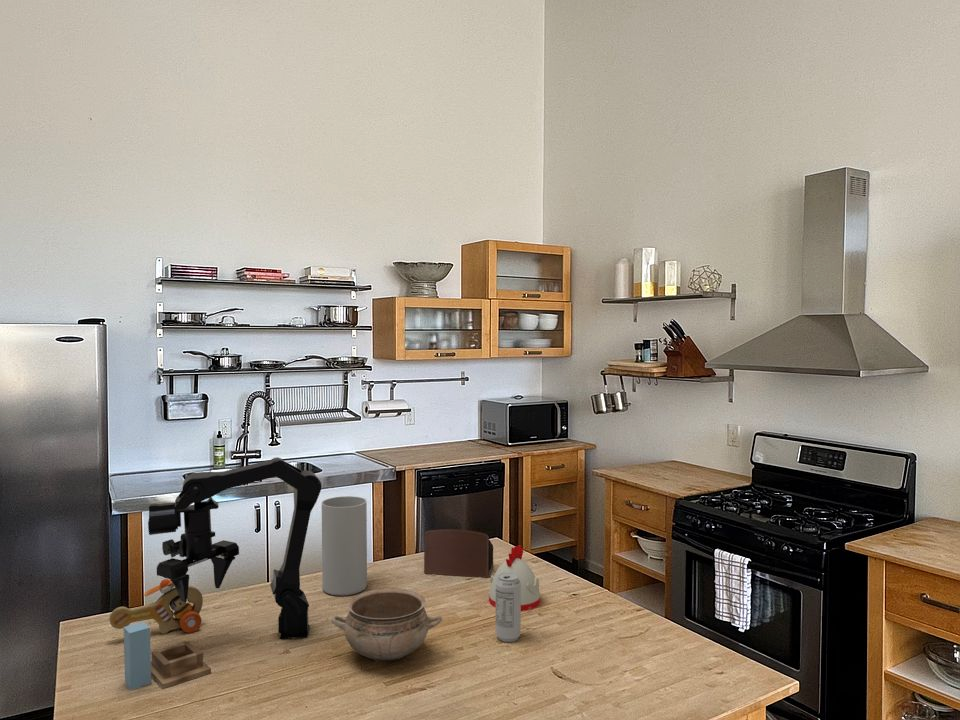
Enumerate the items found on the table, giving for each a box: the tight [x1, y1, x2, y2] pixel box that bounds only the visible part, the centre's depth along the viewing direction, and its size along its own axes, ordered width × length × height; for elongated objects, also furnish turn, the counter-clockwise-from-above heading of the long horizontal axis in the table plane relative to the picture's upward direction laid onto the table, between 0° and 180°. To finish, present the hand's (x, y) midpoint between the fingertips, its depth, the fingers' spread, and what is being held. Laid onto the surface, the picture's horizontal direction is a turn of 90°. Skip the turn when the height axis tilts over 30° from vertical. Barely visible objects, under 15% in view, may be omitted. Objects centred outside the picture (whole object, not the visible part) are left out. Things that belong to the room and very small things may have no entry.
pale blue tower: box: [123, 621, 152, 691], centre depth 150 cm, size 4×4×12 cm
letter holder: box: [423, 528, 494, 579], centre depth 218 cm, size 10×20×14 cm, turn 80°
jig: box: [151, 640, 212, 690], centre depth 155 cm, size 10×12×4 cm
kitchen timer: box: [488, 544, 541, 612], centre depth 194 cm, size 14×14×15 cm
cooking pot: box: [331, 588, 443, 663], centre depth 162 cm, size 25×19×12 cm
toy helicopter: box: [109, 578, 204, 634], centre depth 173 cm, size 8×21×14 cm, turn 124°
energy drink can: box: [495, 573, 522, 643], centre depth 172 cm, size 6×6×15 cm
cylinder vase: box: [321, 495, 368, 597], centre depth 203 cm, size 12×12×25 cm
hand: (201, 594), depth 166 cm, fingers open, 9 cm apart
